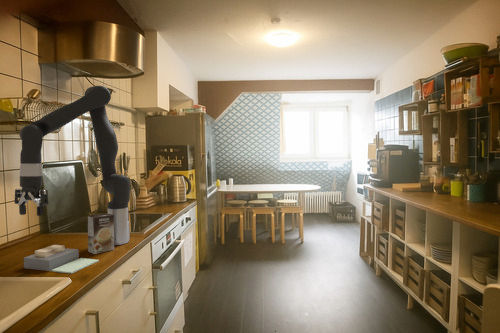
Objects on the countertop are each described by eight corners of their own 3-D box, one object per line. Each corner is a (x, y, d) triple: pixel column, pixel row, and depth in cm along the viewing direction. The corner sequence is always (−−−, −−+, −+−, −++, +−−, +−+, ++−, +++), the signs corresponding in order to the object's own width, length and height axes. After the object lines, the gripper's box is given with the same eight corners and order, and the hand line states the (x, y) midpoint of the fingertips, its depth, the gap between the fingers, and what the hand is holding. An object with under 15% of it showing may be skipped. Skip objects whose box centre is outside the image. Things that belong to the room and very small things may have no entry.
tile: (54, 249, 131) (54, 244, 130) (64, 250, 129) (64, 245, 129) (34, 256, 122) (34, 251, 122) (45, 257, 121) (45, 252, 120)
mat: (80, 259, 130) (80, 258, 130) (99, 261, 128) (99, 259, 128) (51, 271, 117) (51, 269, 117) (71, 273, 115) (71, 272, 115)
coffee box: (94, 254, 136) (93, 217, 136) (87, 251, 141) (86, 215, 140) (114, 249, 144) (114, 214, 143) (107, 247, 148) (107, 212, 147)
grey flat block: (55, 256, 134) (55, 247, 134) (78, 259, 131) (78, 249, 131) (23, 268, 120) (23, 257, 120) (49, 271, 117) (49, 260, 117)
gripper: (53, 174, 129) (53, 214, 129) (25, 174, 133) (25, 212, 133) (37, 175, 122) (37, 217, 122) (8, 175, 125) (8, 215, 126)
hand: (31, 215), depth 128 cm, fingers open, 8 cm apart
